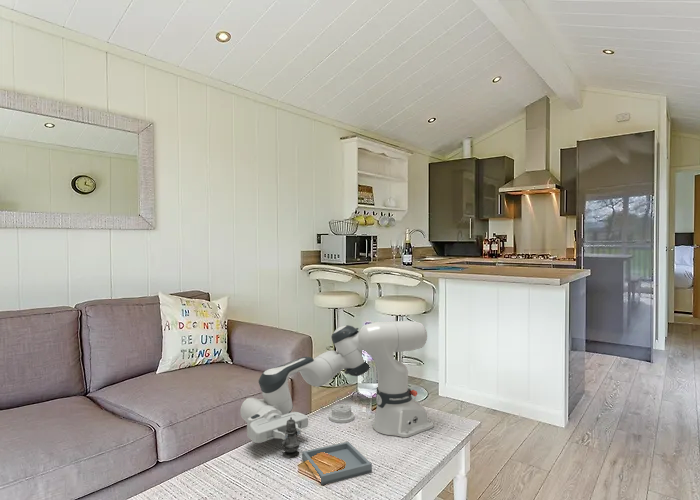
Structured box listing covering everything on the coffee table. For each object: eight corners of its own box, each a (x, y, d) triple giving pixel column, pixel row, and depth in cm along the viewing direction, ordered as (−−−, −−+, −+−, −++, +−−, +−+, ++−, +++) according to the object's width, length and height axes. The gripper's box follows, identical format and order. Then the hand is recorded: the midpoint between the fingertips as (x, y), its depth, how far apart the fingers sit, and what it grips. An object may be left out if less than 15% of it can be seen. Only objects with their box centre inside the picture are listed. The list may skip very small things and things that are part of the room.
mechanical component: (325, 422, 167) (351, 424, 165) (325, 411, 167) (351, 413, 165) (332, 412, 177) (356, 414, 175) (332, 401, 177) (356, 403, 175)
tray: (348, 449, 146) (348, 441, 145) (371, 472, 131) (371, 463, 131) (302, 459, 138) (302, 451, 138) (321, 485, 124) (321, 476, 124)
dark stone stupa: (292, 460, 138) (292, 422, 138) (277, 455, 141) (277, 418, 141) (303, 452, 143) (303, 415, 143) (289, 447, 146) (289, 411, 146)
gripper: (295, 422, 159) (318, 435, 148) (243, 438, 145) (264, 454, 135) (295, 404, 158) (318, 416, 148) (243, 419, 145) (264, 433, 135)
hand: (292, 434), depth 141 cm, fingers closed on dark stone stupa, 4 cm apart
